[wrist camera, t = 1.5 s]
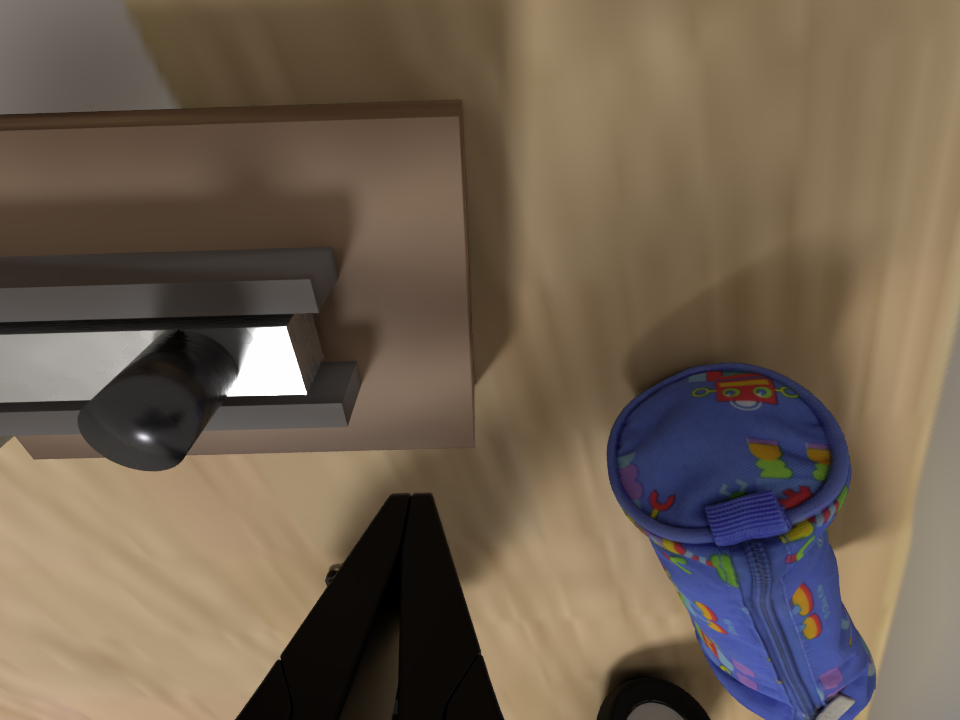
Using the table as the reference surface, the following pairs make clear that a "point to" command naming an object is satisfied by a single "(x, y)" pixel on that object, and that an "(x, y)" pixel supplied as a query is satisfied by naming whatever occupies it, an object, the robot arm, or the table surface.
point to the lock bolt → (155, 374)
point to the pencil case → (748, 532)
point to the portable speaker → (650, 702)
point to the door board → (255, 257)
